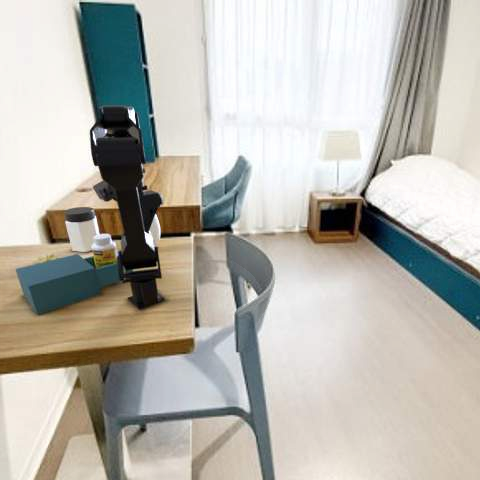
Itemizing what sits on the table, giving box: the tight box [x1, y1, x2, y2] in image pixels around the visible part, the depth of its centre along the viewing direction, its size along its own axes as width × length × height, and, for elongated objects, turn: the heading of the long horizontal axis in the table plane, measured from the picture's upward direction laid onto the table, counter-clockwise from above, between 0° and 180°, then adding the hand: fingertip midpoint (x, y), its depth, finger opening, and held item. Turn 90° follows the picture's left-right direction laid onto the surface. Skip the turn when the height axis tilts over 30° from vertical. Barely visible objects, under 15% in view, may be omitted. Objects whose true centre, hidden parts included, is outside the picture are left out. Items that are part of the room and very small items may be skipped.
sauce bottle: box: [149, 213, 161, 247], centre depth 112 cm, size 8×8×18 cm
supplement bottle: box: [92, 233, 118, 268], centre depth 92 cm, size 6×6×10 cm
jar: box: [63, 206, 101, 253], centre depth 113 cm, size 9×8×12 cm
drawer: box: [83, 250, 134, 289], centre depth 94 cm, size 17×10×5 cm, turn 134°
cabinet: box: [15, 253, 101, 316], centre depth 86 cm, size 14×12×7 cm
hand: (138, 226), depth 94 cm, fingers open, 9 cm apart
